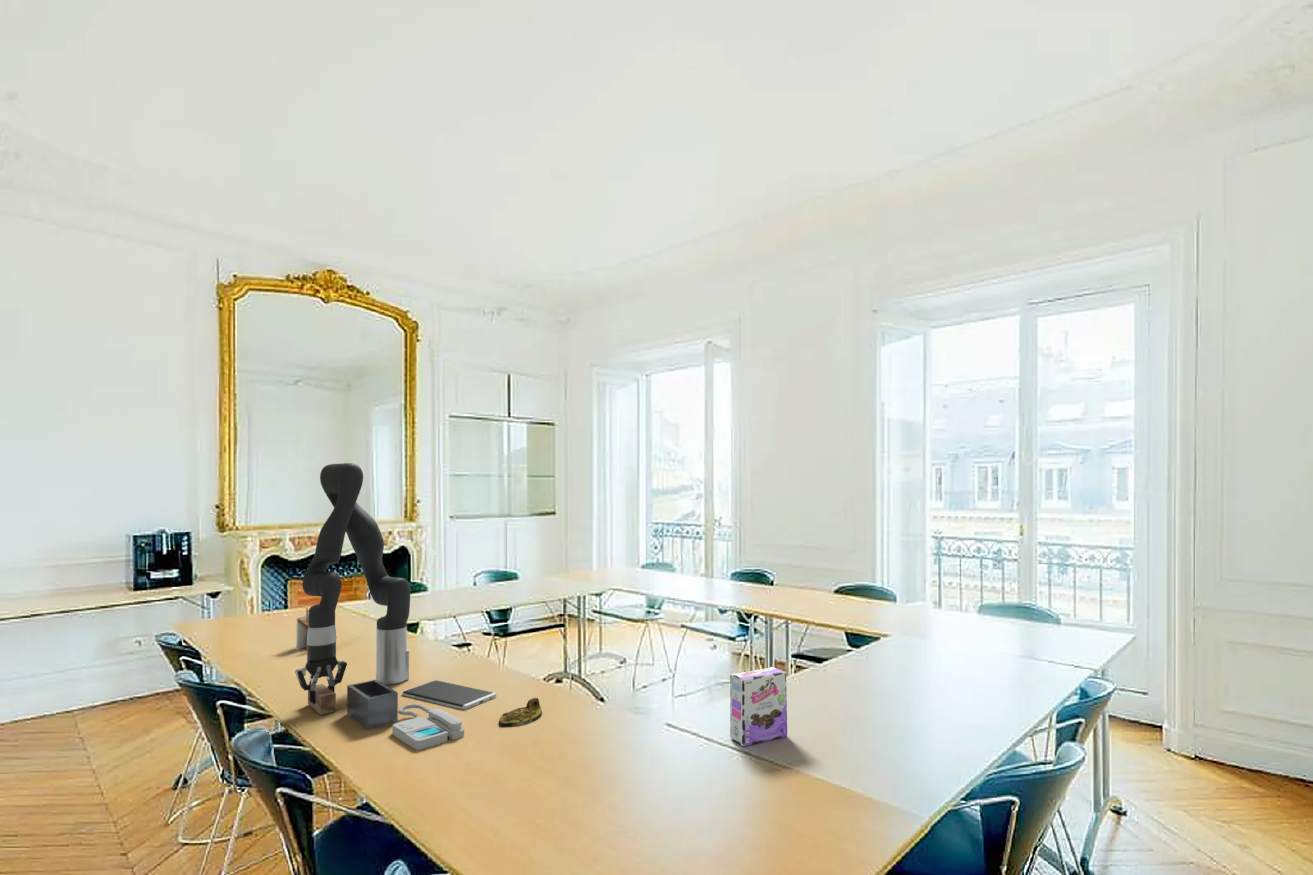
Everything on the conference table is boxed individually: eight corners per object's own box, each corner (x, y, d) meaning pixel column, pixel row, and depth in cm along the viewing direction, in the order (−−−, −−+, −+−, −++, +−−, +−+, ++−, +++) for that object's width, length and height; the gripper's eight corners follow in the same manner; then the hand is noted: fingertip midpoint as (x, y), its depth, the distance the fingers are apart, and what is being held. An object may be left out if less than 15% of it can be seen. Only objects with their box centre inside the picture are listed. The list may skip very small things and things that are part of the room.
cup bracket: (375, 707, 201) (376, 679, 201) (397, 722, 189) (397, 692, 190) (347, 714, 196) (347, 685, 196) (367, 730, 184) (367, 699, 184)
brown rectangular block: (322, 700, 206) (322, 683, 207) (335, 711, 198) (335, 693, 198) (307, 704, 204) (308, 686, 204) (320, 714, 195) (320, 696, 195)
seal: (514, 735, 183) (551, 716, 196) (515, 717, 183) (552, 700, 196) (488, 724, 188) (526, 707, 201) (489, 707, 188) (527, 691, 201)
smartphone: (464, 712, 198) (464, 706, 198) (400, 696, 212) (400, 691, 212) (497, 698, 210) (497, 692, 210) (434, 684, 223) (435, 679, 223)
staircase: (296, 651, 265) (296, 607, 266) (314, 644, 276) (315, 601, 277) (316, 652, 264) (317, 608, 264) (334, 644, 274) (335, 602, 275)
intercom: (422, 697, 198) (466, 719, 180) (422, 712, 197) (466, 736, 179) (375, 708, 188) (416, 733, 170) (375, 725, 188) (416, 751, 170)
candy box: (743, 747, 170) (742, 679, 171) (729, 739, 176) (728, 673, 176) (788, 737, 177) (787, 671, 177) (774, 729, 182) (773, 665, 183)
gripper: (343, 634, 209) (342, 692, 208) (291, 643, 199) (290, 704, 199) (351, 639, 203) (351, 698, 203) (298, 648, 194) (298, 710, 193)
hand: (321, 701), depth 201 cm, fingers closed on brown rectangular block, 4 cm apart
